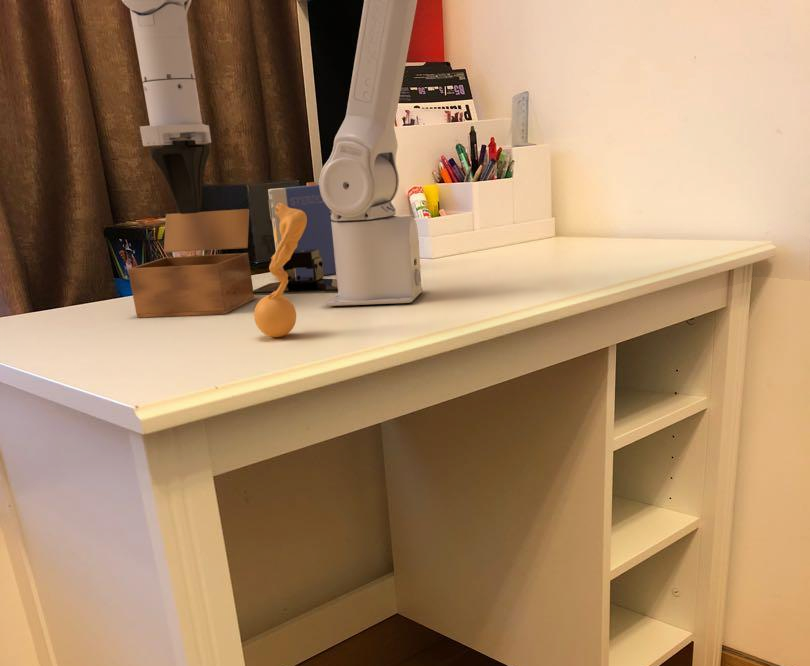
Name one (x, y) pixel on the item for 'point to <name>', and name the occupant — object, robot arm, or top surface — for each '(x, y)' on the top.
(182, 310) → the carton
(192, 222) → the flap
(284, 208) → the figurine
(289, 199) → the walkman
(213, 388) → the top surface
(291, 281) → the black angular piece
